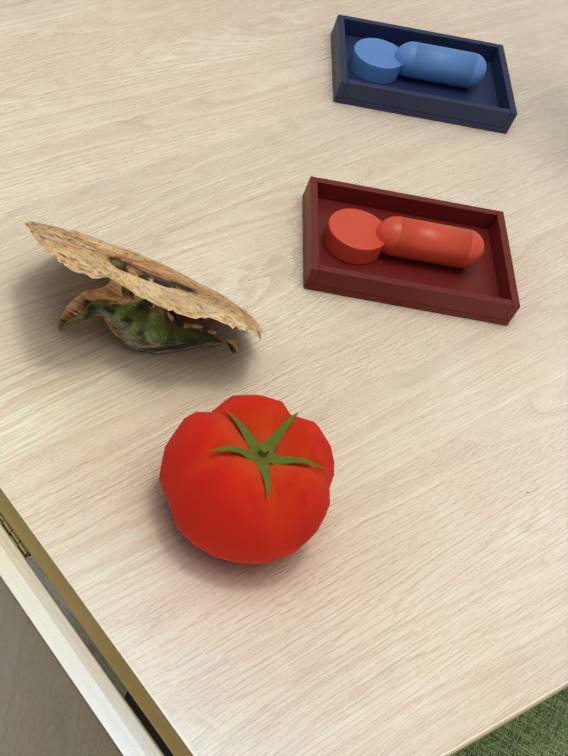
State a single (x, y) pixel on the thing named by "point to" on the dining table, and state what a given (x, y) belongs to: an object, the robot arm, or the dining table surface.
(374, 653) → the dining table surface
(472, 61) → the blue spoon
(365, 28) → the blue tray
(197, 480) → the tomato
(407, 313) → the dining table surface
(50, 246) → the sandwich
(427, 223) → the red spoon
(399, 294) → the red tray
